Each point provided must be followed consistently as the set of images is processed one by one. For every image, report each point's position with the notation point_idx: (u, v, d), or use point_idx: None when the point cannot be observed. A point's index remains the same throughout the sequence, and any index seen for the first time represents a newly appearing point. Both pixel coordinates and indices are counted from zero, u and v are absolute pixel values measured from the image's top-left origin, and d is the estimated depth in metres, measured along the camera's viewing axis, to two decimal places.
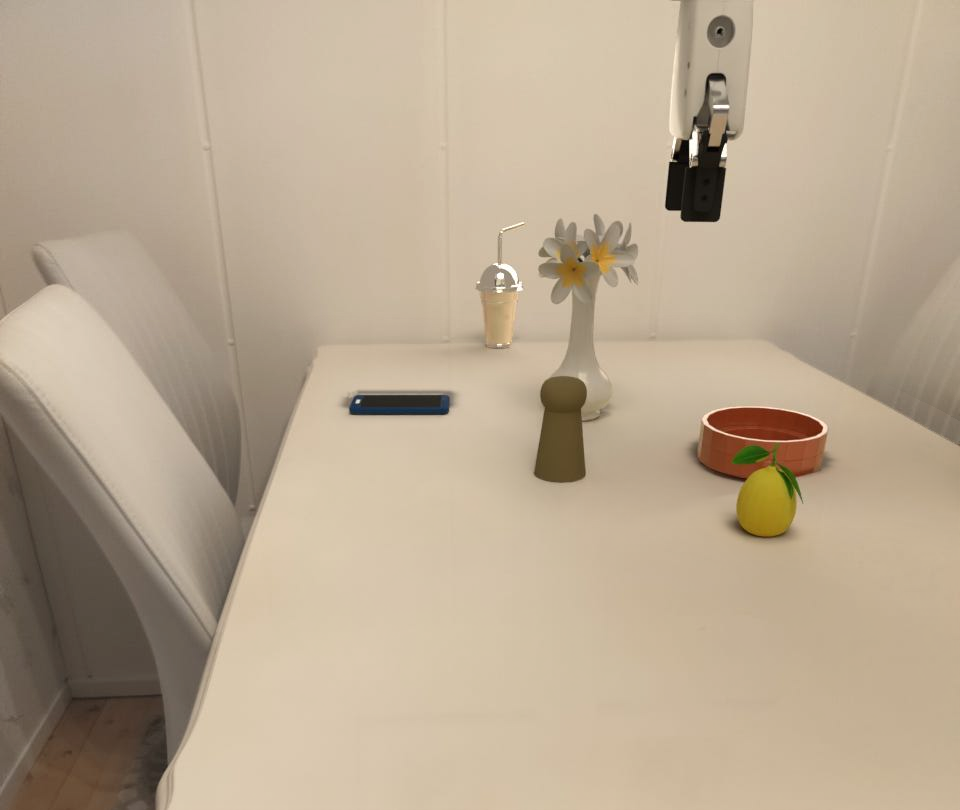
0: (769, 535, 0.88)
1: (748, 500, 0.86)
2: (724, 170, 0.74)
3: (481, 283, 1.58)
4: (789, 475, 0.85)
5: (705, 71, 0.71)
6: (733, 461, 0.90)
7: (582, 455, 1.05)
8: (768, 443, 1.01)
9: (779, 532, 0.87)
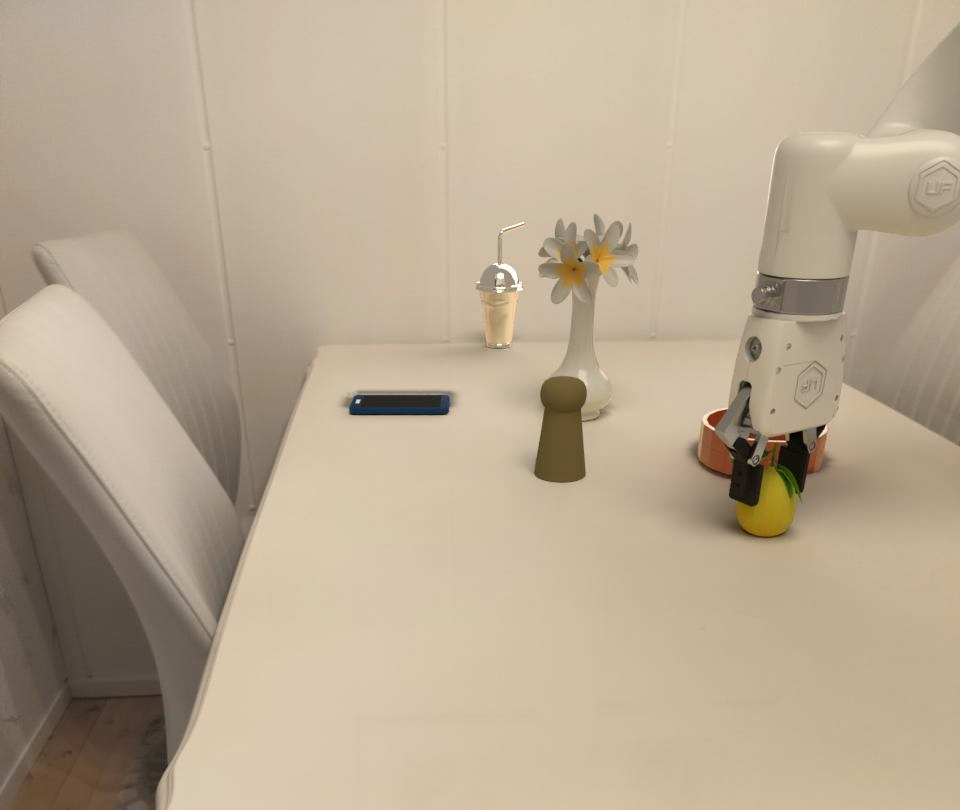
0: (769, 535, 0.88)
1: None
2: (759, 467, 0.83)
3: (481, 283, 1.58)
4: (788, 475, 0.85)
5: (739, 377, 0.80)
6: (732, 461, 0.90)
7: (582, 455, 1.05)
8: (768, 443, 1.01)
9: (779, 532, 0.87)
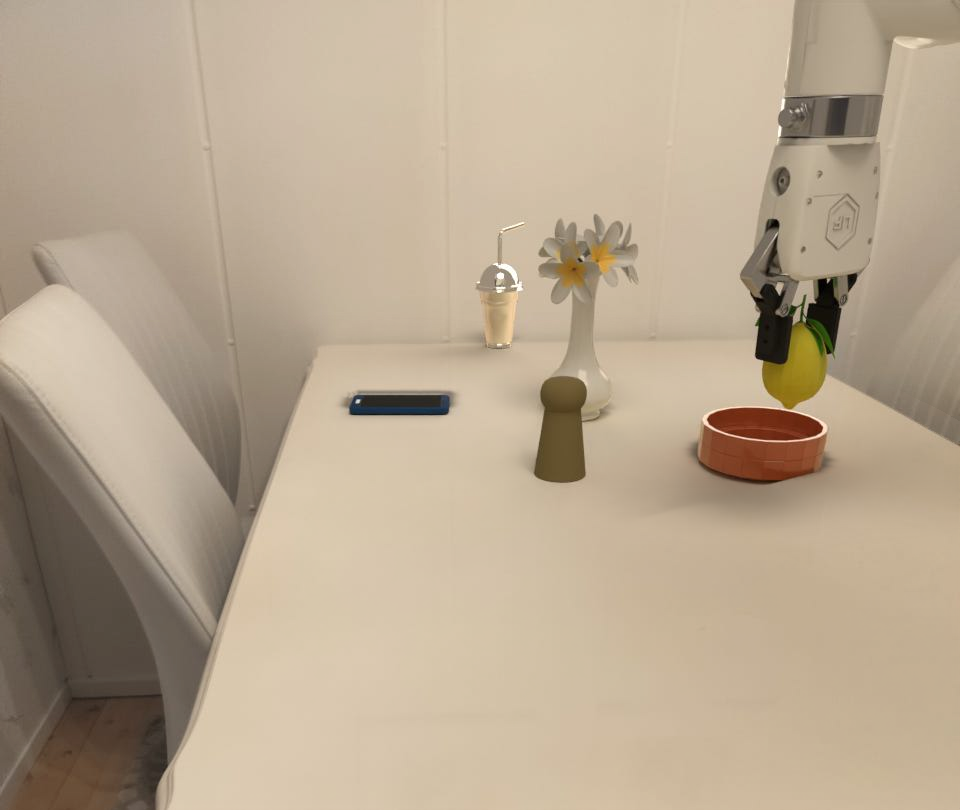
0: (798, 399, 0.82)
1: None
2: (788, 319, 0.77)
3: (481, 283, 1.58)
4: (819, 329, 0.79)
5: (765, 216, 0.74)
6: (756, 324, 0.84)
7: (582, 455, 1.05)
8: (768, 443, 1.01)
9: (809, 395, 0.82)
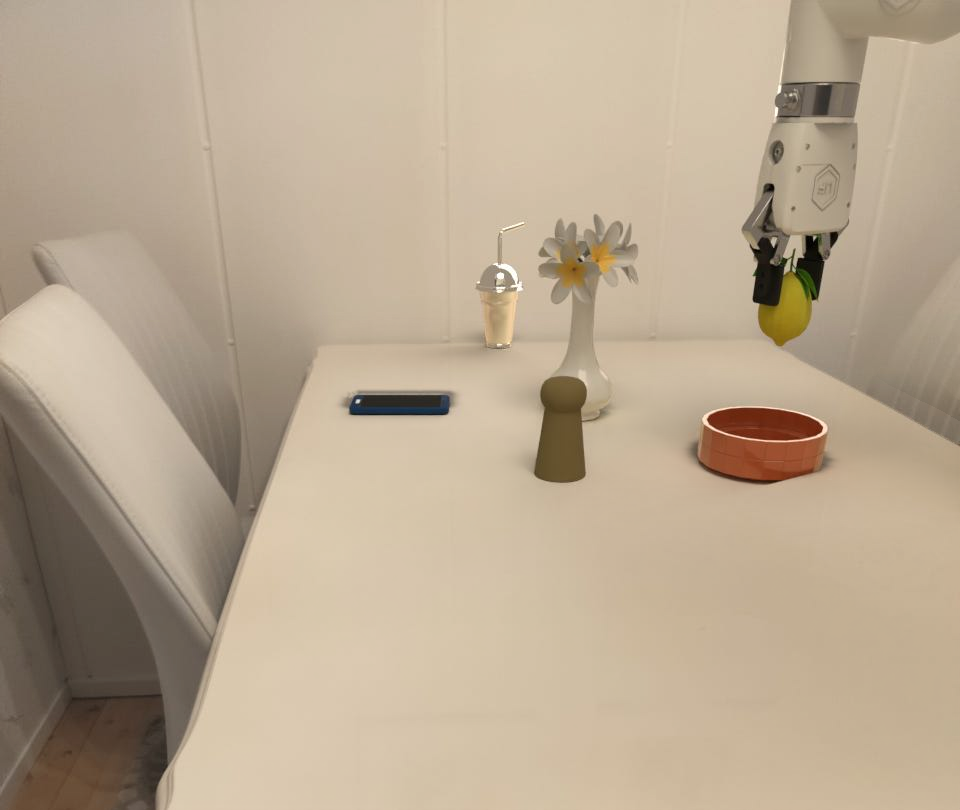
0: (788, 336, 0.98)
1: None
2: (780, 267, 0.94)
3: (481, 283, 1.58)
4: (805, 277, 0.95)
5: (763, 181, 0.91)
6: (754, 274, 1.00)
7: (582, 455, 1.05)
8: (768, 443, 1.01)
9: (796, 333, 0.98)
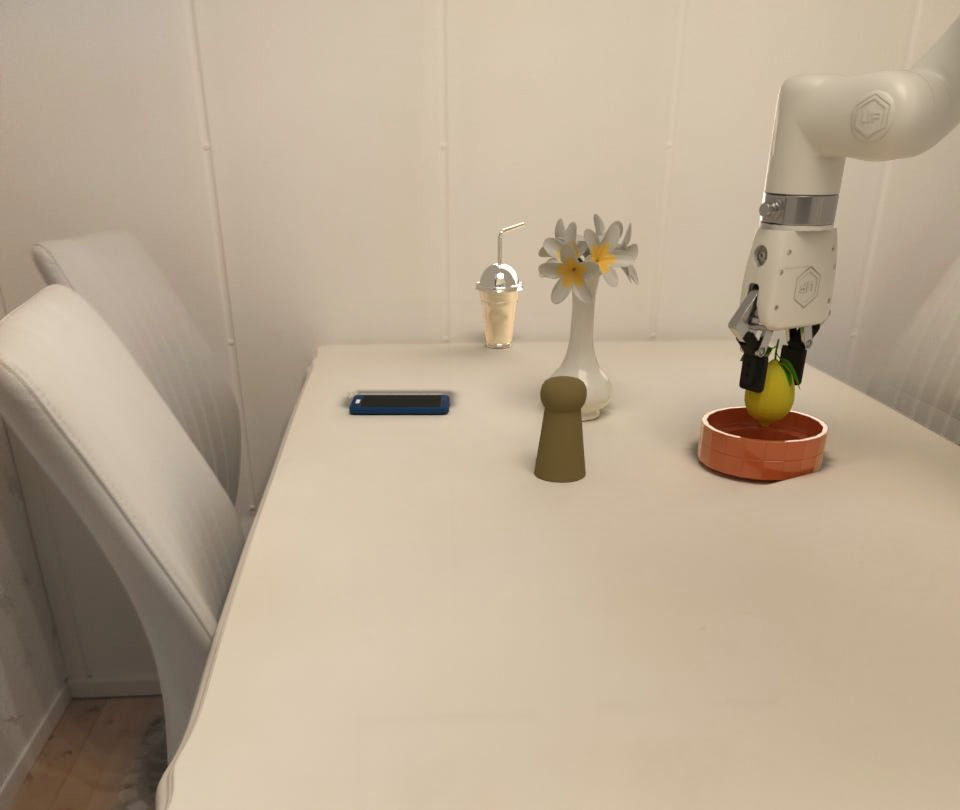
0: (772, 419, 1.05)
1: None
2: (764, 358, 1.00)
3: (481, 283, 1.58)
4: (788, 366, 1.02)
5: (748, 281, 0.98)
6: (741, 359, 1.07)
7: (582, 455, 1.05)
8: (768, 443, 1.01)
9: (780, 416, 1.05)
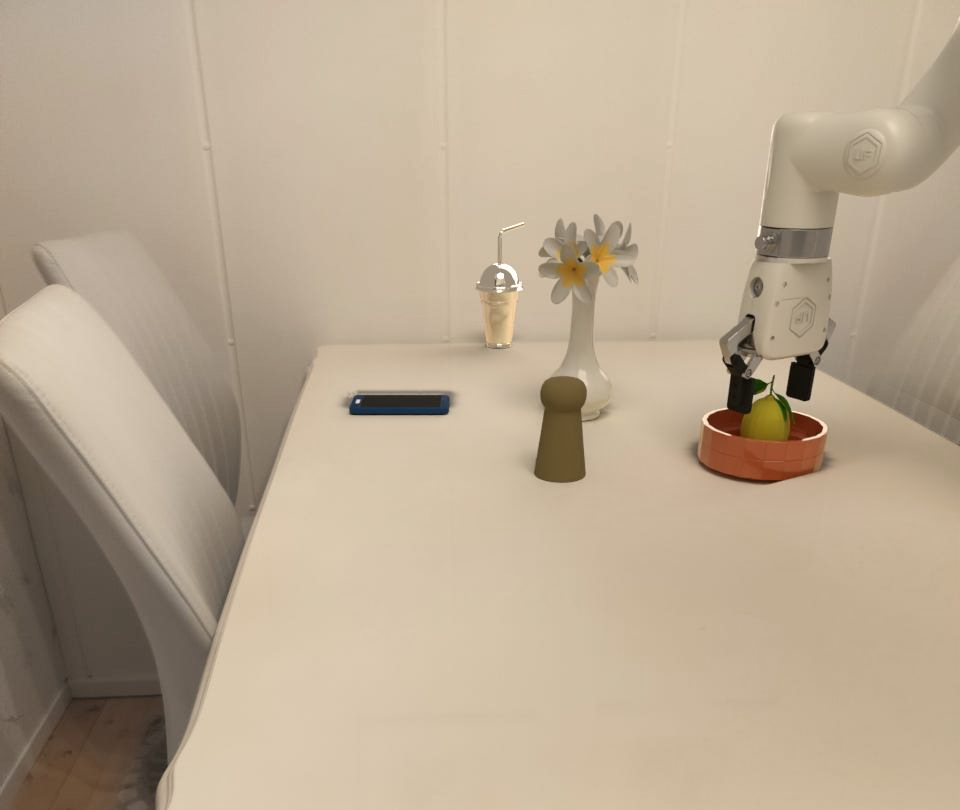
0: None
1: (750, 424, 1.06)
2: (751, 380, 1.01)
3: (481, 283, 1.58)
4: (783, 401, 1.04)
5: (745, 311, 0.99)
6: None
7: (582, 455, 1.05)
8: (768, 443, 1.01)
9: None
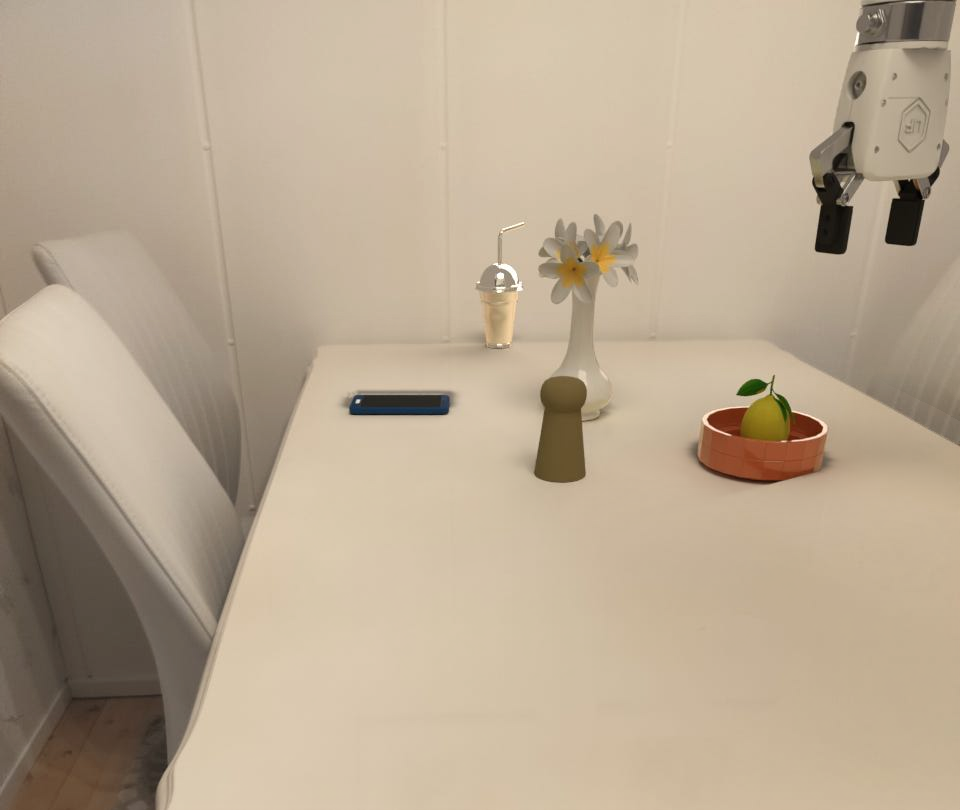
0: None
1: (750, 424, 1.06)
2: (848, 208, 0.81)
3: (481, 283, 1.58)
4: (783, 401, 1.04)
5: (841, 120, 0.80)
6: (737, 393, 1.09)
7: (582, 455, 1.05)
8: (768, 443, 1.01)
9: None
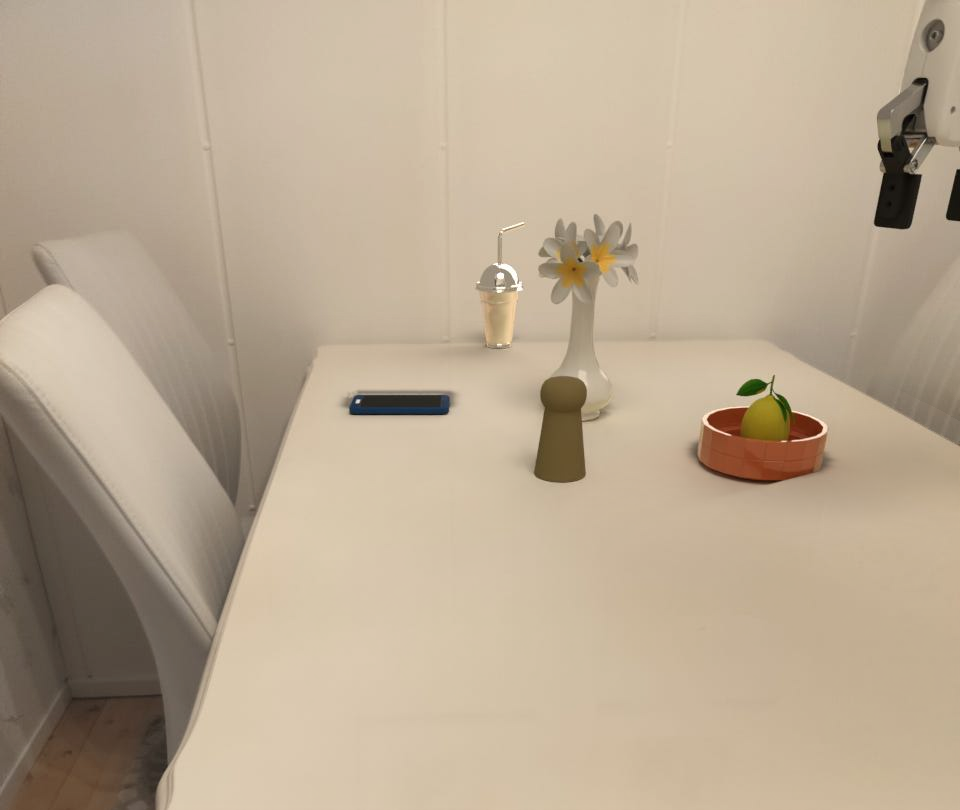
0: None
1: (750, 424, 1.06)
2: (916, 176, 0.72)
3: (481, 283, 1.58)
4: (783, 401, 1.04)
5: (911, 76, 0.71)
6: (737, 393, 1.09)
7: (582, 455, 1.05)
8: (768, 443, 1.01)
9: None
